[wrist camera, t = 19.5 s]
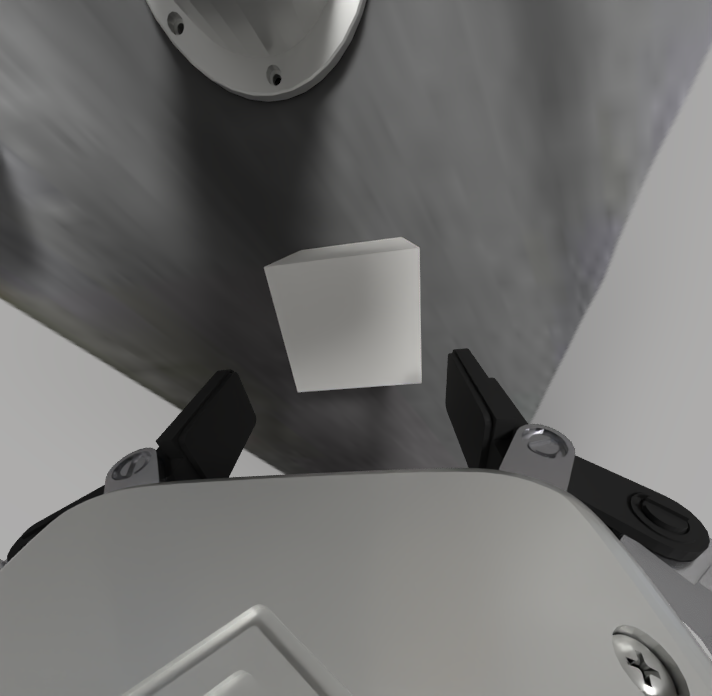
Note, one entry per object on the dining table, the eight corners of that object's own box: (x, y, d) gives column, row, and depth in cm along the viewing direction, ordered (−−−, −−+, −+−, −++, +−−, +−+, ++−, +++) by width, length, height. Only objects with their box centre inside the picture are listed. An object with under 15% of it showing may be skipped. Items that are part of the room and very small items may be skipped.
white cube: (300, 250, 20) (263, 267, 13) (401, 236, 19) (419, 247, 12) (319, 340, 23) (297, 392, 16) (405, 332, 23) (421, 383, 16)
